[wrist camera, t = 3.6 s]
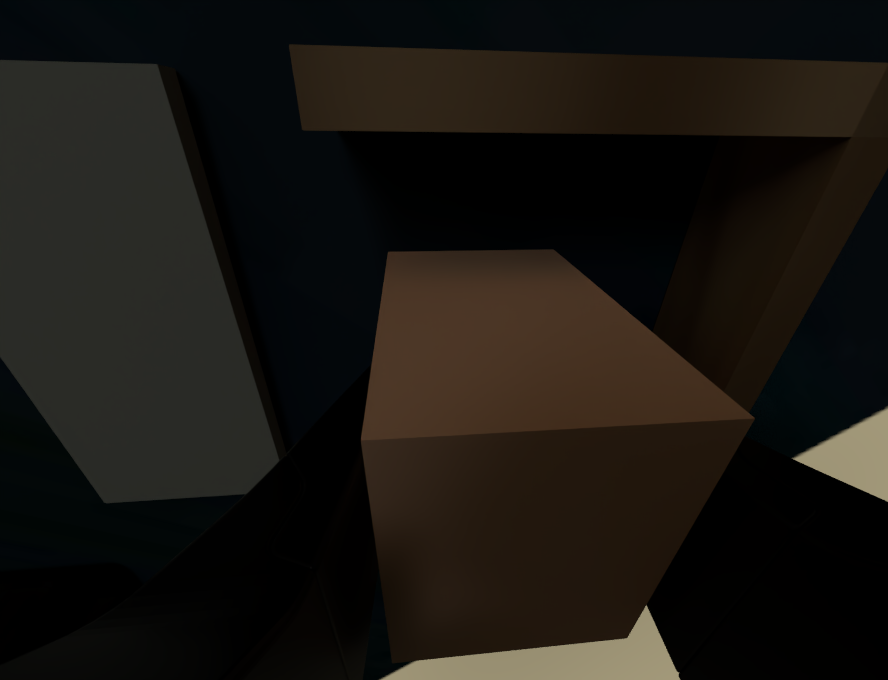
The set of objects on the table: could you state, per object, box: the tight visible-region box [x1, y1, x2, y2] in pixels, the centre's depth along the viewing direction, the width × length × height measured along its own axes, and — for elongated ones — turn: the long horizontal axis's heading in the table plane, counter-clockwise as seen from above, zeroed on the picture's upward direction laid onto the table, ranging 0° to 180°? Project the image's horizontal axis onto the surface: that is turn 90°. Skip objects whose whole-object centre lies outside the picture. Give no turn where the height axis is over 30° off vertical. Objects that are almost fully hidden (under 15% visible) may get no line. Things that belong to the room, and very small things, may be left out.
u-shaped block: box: [289, 45, 888, 413], centre depth 10 cm, size 10×12×3 cm
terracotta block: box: [361, 249, 755, 663], centre depth 7 cm, size 4×5×6 cm
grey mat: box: [0, 60, 287, 503], centre depth 10 cm, size 6×12×1 cm, turn 179°
